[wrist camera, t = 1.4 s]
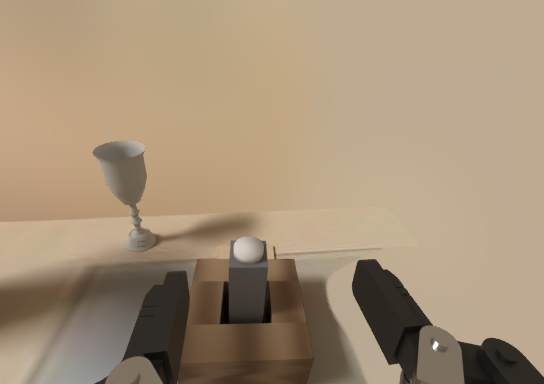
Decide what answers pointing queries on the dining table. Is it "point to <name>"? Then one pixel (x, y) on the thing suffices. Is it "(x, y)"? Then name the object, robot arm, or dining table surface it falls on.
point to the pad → (225, 252)
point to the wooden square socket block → (245, 331)
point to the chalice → (127, 184)
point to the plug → (247, 280)
